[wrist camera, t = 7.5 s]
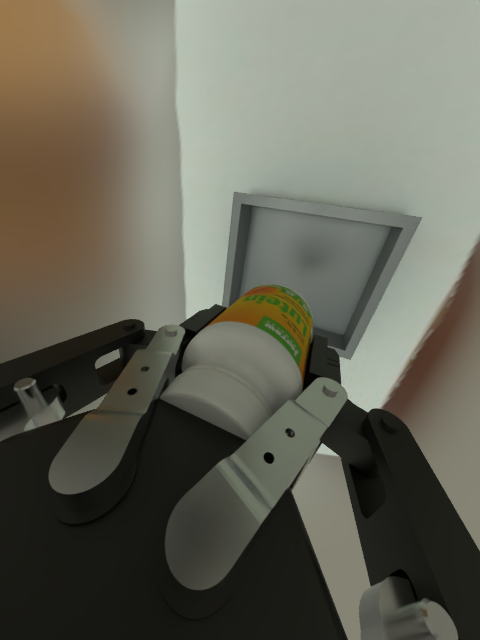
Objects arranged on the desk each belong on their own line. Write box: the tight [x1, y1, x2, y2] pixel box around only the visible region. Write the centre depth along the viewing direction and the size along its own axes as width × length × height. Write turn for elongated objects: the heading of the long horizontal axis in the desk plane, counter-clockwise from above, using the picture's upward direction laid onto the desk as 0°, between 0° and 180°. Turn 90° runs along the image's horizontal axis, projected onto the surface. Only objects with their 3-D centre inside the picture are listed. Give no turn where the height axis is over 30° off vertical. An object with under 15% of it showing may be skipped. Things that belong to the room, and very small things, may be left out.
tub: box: [222, 192, 422, 360], centre depth 26 cm, size 16×18×5 cm
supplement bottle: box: [160, 283, 313, 440], centre depth 10 cm, size 5×5×10 cm
